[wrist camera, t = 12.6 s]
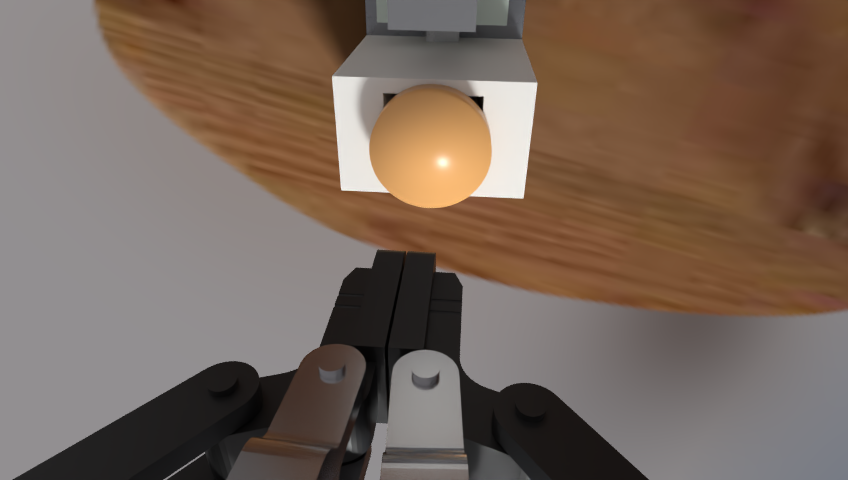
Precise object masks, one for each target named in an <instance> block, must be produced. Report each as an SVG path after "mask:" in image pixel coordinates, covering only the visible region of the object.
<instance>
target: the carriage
mask: <svg viewBox="0 0 848 480" xmlns="http://www.w3.org/2000/svg"><path fill="white" fill-rule="evenodd" d="M508 6H509V0H376V7H377V22H380V23H388V30H416V31H455V32H476V25H499V26H507V17H508Z"/></svg>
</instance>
